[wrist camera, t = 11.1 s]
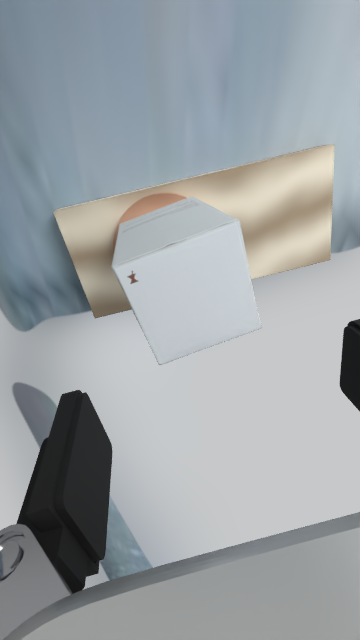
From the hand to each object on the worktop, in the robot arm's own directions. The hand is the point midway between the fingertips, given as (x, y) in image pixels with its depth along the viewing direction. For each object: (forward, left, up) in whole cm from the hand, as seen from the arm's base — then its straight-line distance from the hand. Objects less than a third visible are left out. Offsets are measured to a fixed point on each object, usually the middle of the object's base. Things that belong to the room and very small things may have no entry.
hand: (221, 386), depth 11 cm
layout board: (0, +4, -23) cm, 23 cm away
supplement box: (0, 0, -20) cm, 20 cm away
